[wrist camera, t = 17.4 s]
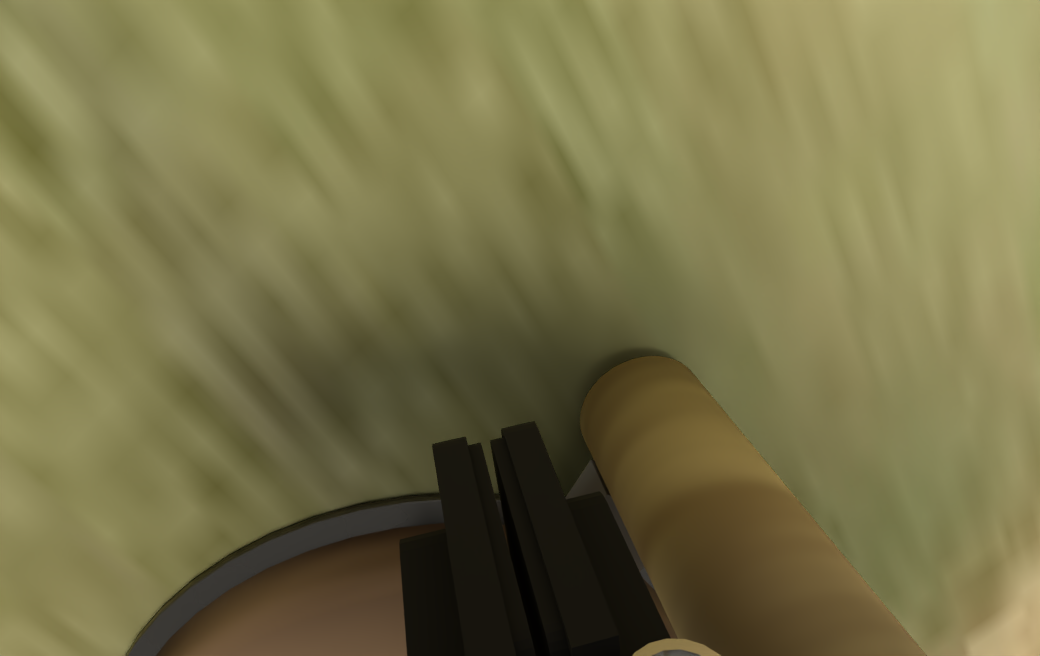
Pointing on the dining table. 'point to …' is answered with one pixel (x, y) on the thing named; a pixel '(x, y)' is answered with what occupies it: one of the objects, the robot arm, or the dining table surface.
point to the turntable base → (288, 557)
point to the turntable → (645, 527)
